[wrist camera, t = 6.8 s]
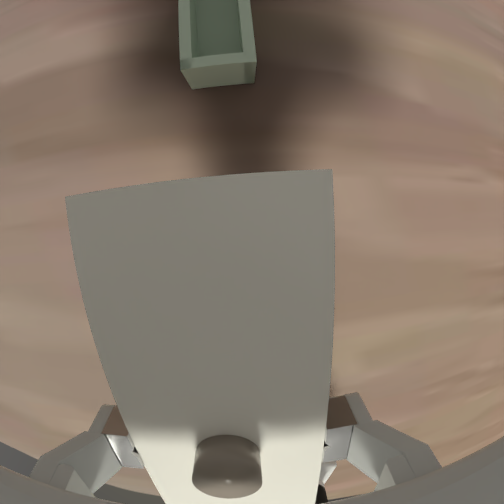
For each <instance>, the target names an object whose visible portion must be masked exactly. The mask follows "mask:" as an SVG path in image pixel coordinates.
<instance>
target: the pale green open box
mask: <svg viewBox="0 0 504 504" xmlns="http://www.w3.org/2000/svg"><path fill="white" fill-rule="evenodd" d="M178 11H179V51H180V70H181V72H182V74H183V75H184V77H185V79H186V80H187V82H188V84H189V85H190V87H191V89H199V88H207V87H215V86H225V85H235V84H247V83H254V80H255V72H256V64H257V59H256V50H255V41H254V32H253V23H252V14H251V6H250V0H178Z"/></svg>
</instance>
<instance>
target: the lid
mask: <svg viewBox="0 0 504 504" xmlns="http://www.w3.org/2000/svg"><path fill="white" fill-rule="evenodd" d="M65 200H66V209H67V217H68V224H69V231H70V237H71V244H72V249H73V255H74V260H75V266H76V271H77V275H78V280H79V285H80V289H81V293H82V298H83V302H84V306H85V310H86V313H87V317H88V321H89V324H90V328H91V332H92V335H93V338H94V342H95V345H96V348H97V351H98V354H99V358H100V361H101V364H102V366H103V369H104V372H105V375H106V378H107V381H108V383H109V386H110V389H111V391H112V394H113V397H114V399H115V402H116V404H117V407H118V409H119V412H120V414H121V416H122V419H123V421H124V423H125V426H126V428H127V430H128V432H129V434H130V436H131V438H132V441H133V443H134V445H135V447H136V450H137V452H138V454H139V455H140V457H141V459H142V461H143V463H144V466H145V468H146V469H147V471H148V473H149V475H150V477H151V479H152V481H153V482H154V484H155V486H156V488H157V490H158V491H159V493H160V495H161V496H162V498H163V500H164V502H165V503H166V504H315V501H316V495H317V489H318V483H319V476H320V470H321V463H322V454H323V448H324V437H325V429H326V422H327V413H328V402H329V391H330V378H331V364H332V348H333V327H334V294H335V229H334V197H333V176H332V169H326V170H296V171H275V172H259V173H244V174H232V175H220V176H209V177H199V178H189V179H180V180H171V181H163V182H155V183H148V184H140V185H133V186H126V187H120V188H113V189H107V190H101V191H95V192H89V193H83V194H78V195H72V196H67V197H65Z"/></svg>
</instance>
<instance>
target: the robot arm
mask: <svg viewBox="0 0 504 504" xmlns="http://www.w3.org/2000/svg"><path fill="white" fill-rule="evenodd" d="M342 459H347V460H348V461H349V462H350V463H351V464H353V465H354V466H355V467H357V468H358V469H359V470H361V471H362V472H363V473H364V474H366V475H367V476H368V477H370V478H371V479H372V480H374V481H375V482H377V486H376V488H375V490H374V492H370V493H367V494H363V495H359V496H355V497H351V498H346V499H342V500H337V501H332V502H327V503H321V504H504V436H503V437H501V438H500V439H498V440H496V441H495V442H493V443H491V444H489V445H487V446H486V447H484V448H482V449H480V450H478V451H476V452H474V453H472V454H470V455H468V456H466V457H464V458H462V459H460V460H458V461H456V462H454V463H451V464H449V465H447V466H445V467H441V465H440V463H439V462H438V460H437V458H436V457H435V455H434V454H433V452H432V450H431V449H430V447H429V446H428V445H427V444H425V443H423V442H421V441H419V440H417V439H414V438H412V437H410V436H408V435H406V434H404V433H402V432H400V431H398V430H396V429H394V428H392V427H390V426H388V425H386V424H384V423H382V422H380V421H378V420H375V421H373V420H372V418H371V416H370V414H369V412H368V410H367V408H366V406H365V404H364V402H363V401H362V399H361V397H360V395H359V393H357V392H355V393H350V394H345V395H341V396H336V397H330V398H329V402H328V413H327V422H326V429H325V437H324V448H323V454H322V461H323V463H324V462H330V461H336V460H342ZM122 466H123V467H132V468H144V463H143V461H142V459H141V457H140V455H139V454H138V452H137V450H136V447H135V445H134V443H133V441H132V438H131V436H130V434H129V432H128V430H127V428H126V426H125V423H124V421H123V419H122V416H121V414H120V412H119V409H118V407H117V405H116V406H115V405H107V404H104V405H102V406H101V408H100V410H99V412H98V414H97V415H96V417H95V419H94V421H93V423H92V425H91V427H90V429H89V431H88V432H86V431H84V432H83V433H81V434H79V435H77V436H76V437H74V438H72V439H71V440H69V441H67V442H65V443H64V444H62V445H60V446H58V447H57V448H55V449H53V450H51V451H49V452H48V453H46V454H44V455H42V456H41V457H40V458H39V460H38V462H37V463H36V465H35V467H34V469H33V471H32V472H31V474H30V476H29V477H26V476H24V475H21V474H19V473H16V472H14V471H12V470H9V469H7V468H5V467H3V466H1V465H0V504H122V503H117V502H112V501H107V500H102V499H98V498H96V497H95V496H94V495H93V493H94V492H95V491H96V490H98V489H99V488H100V487H101V486H102V485H103V484H104V483H106V482H107V481H108V480H109V479H110V478H111V477H112V476H113V475H114V474H116V473H117V472H118V471H119V470H120V469H121V468H122Z"/></svg>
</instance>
